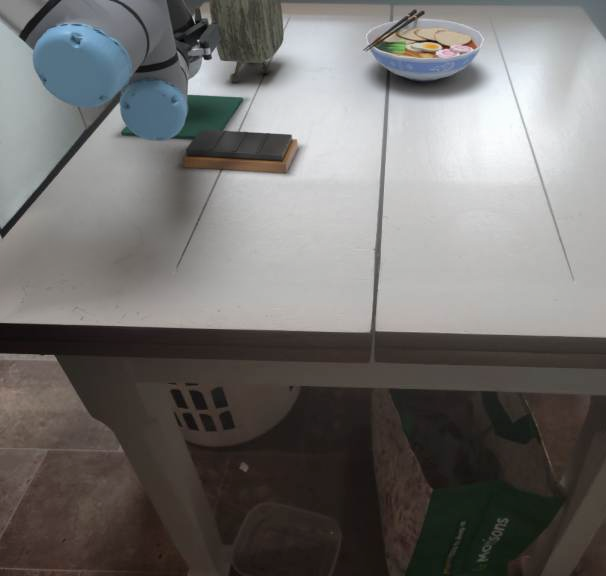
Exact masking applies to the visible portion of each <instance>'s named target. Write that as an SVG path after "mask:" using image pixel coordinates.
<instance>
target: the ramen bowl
mask: <svg viewBox="0 0 606 576" xmlns="http://www.w3.org/2000/svg"><path fill="white" fill-rule="evenodd" d="M425 12H426V11H425V10H420V11H419V12H418V10H417V9H413V10H411V11H410V12H408V13H407V15H405V16H404V17H402V18H401V19H400V20H399V19H398V20H393V21H389V22H384V23H382V24H380V25H377V26H374V27H372V28H370V30H369V31H368V32H367V33H366V34H365V35H364V37H365V40H366V44H367V46H366V47H365V48H364V49H363V50H362V51H365V52H368V51H370V52H371V54H372V55H373V57H374V59H375V60H376V61H377V62H378V64H380V65H381V66H382V67H384V68H385V69H387V70H388V71H390V72H391V73H392V74H394V75H395V76H396V75H397V76H400V77H403V78H406V79H408V80H410V81H414V82H420V83H427V82H429V83H430V82H434V81H437V80H439V79H444V78H447V77H451V76H453V75H454V74H457V73H458V72H460V71H462V70H464V69H465V68H467V66H469V65H470V63H472V61H473V60H474V59H475V57H477V55H478V53H479V52H480V49H481V48H482V46H483V43H484V41H485V38H484V36H483V35H482V33H481V32H480V31H479V30H476V29H474V28H473V27H471V26H469V25H466V24H462V23H458V22H456V21H455V22H454V21H450V20H443V19H434V18H433V19H432V18H421V17H423V16H424V15H425Z"/></svg>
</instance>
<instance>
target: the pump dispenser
mask: <svg viewBox="0 0 606 576" xmlns="http://www.w3.org/2000/svg"><path fill="white" fill-rule="evenodd" d="M166 2H167V6H168V11H169V16H170V21H171V25H172V30H173V35H174V34H175V33H183V32H185V31H187V30H188V29H190V28H191V27H193V26H195V19H194V18H193V16H192V14H191V12H190V10H189V7H187V4H186V3H185V1H184V0H166ZM202 63H203V57H202V58H201V57H200V56H193V59H192V60H191V61H189V77H188V81H189V80H191V79H192V78H194V77H195V76H196V75H197V74H198V73H199V72H200V70H201V67H202Z"/></svg>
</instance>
